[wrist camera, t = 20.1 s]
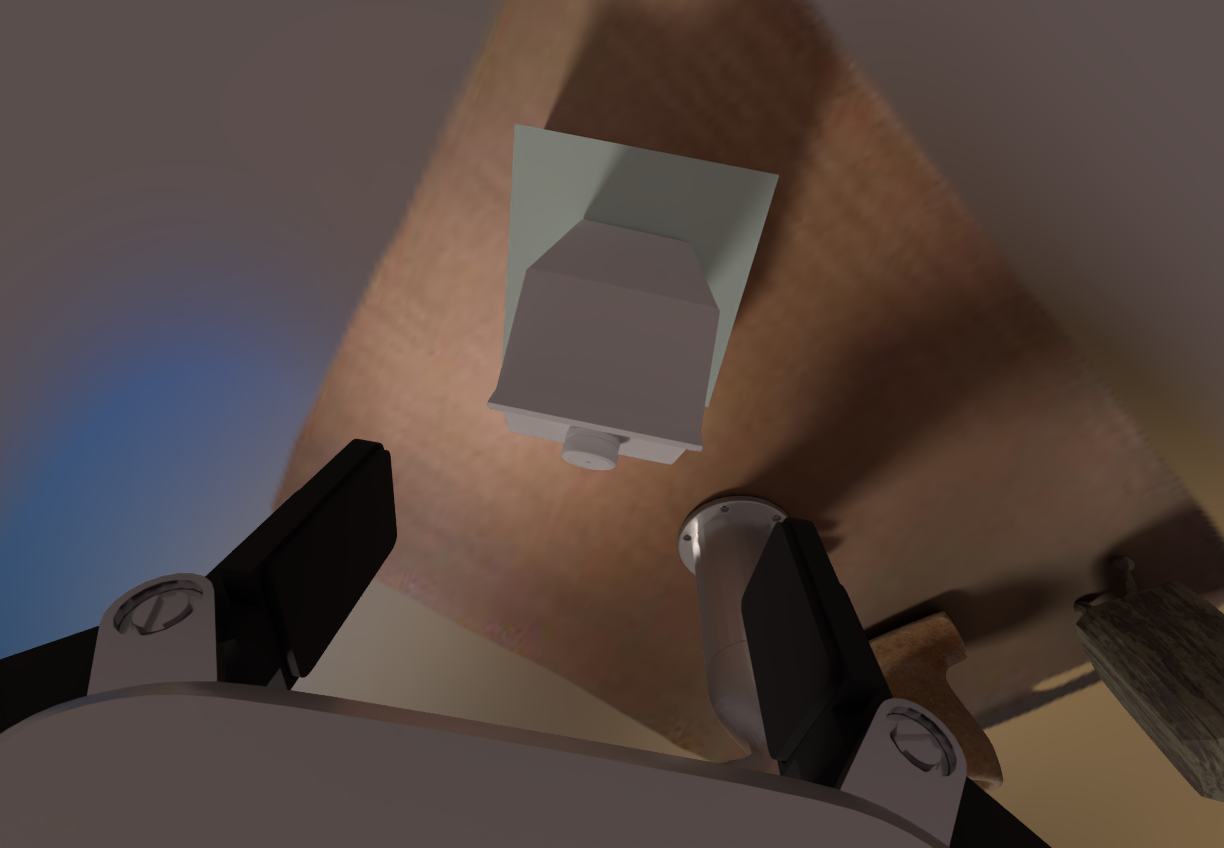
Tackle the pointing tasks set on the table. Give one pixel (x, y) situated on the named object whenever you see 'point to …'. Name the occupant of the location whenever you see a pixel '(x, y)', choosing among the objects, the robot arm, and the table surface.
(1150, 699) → the tabletop clock
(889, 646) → the brown upright piece
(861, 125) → the table surface
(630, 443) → the milk carton
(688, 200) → the box lid
